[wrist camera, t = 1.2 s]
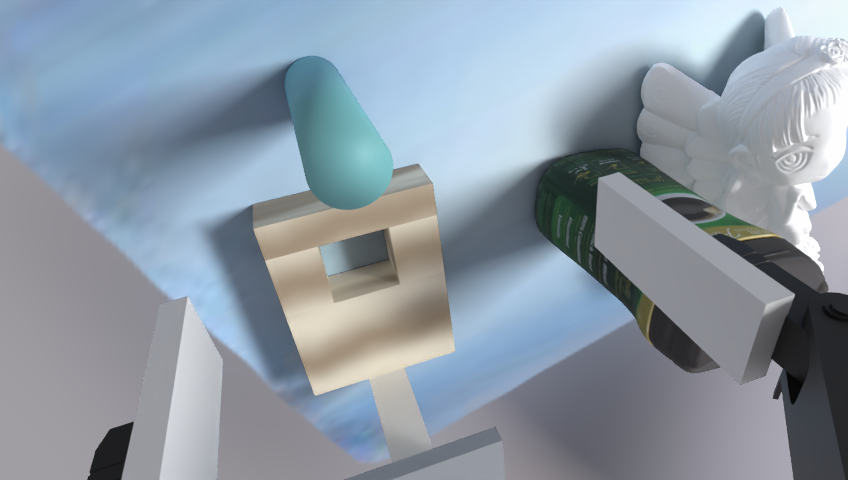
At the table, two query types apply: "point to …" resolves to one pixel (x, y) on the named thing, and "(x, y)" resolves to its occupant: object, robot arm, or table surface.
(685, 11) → the table surface
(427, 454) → the light grey angular piece
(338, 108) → the peg
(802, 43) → the cherub figurine
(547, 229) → the coffee jar
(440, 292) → the socket block
